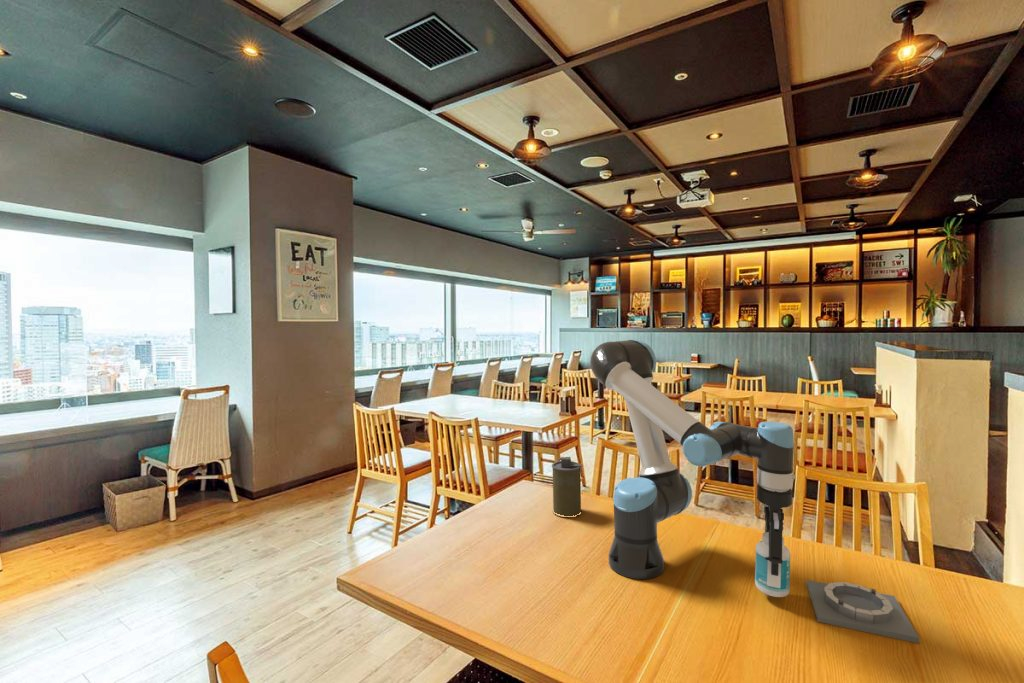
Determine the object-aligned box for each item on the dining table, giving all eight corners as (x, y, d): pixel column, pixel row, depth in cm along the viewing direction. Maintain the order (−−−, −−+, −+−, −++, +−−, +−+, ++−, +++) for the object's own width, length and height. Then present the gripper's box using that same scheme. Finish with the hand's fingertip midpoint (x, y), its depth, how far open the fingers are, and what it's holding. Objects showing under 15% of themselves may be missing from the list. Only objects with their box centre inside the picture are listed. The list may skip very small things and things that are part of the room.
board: (817, 621, 104) (817, 616, 104) (806, 584, 119) (806, 579, 119) (919, 643, 97) (919, 637, 96) (894, 600, 111) (894, 595, 111)
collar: (830, 614, 104) (830, 603, 104) (820, 585, 116) (820, 575, 116) (900, 629, 99) (900, 617, 99) (882, 597, 111) (882, 586, 110)
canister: (551, 517, 163) (550, 462, 162) (553, 505, 173) (552, 453, 172) (582, 519, 161) (581, 462, 160) (583, 507, 171) (582, 454, 170)
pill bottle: (794, 600, 109) (796, 545, 108) (760, 597, 110) (761, 542, 110) (782, 582, 116) (784, 530, 115) (750, 579, 118) (752, 528, 117)
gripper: (798, 505, 101) (795, 605, 102) (787, 475, 119) (785, 560, 121) (759, 499, 104) (757, 596, 106) (754, 471, 123) (752, 554, 124)
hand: (772, 576), depth 113 cm, fingers closed on pill bottle, 7 cm apart
